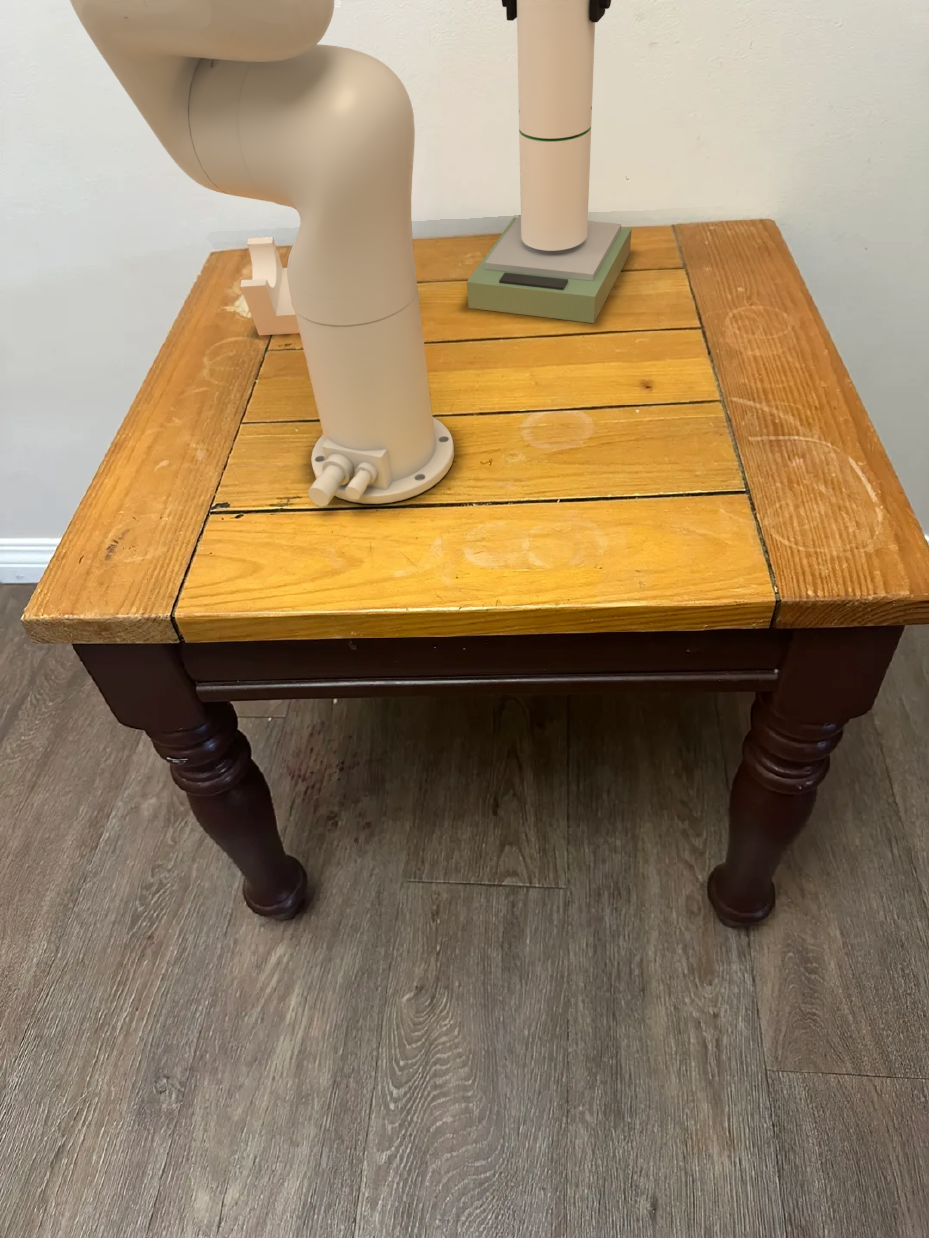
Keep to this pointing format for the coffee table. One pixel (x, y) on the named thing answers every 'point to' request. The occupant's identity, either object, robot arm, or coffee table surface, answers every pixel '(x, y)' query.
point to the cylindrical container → (554, 120)
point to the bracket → (269, 290)
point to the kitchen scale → (550, 274)
